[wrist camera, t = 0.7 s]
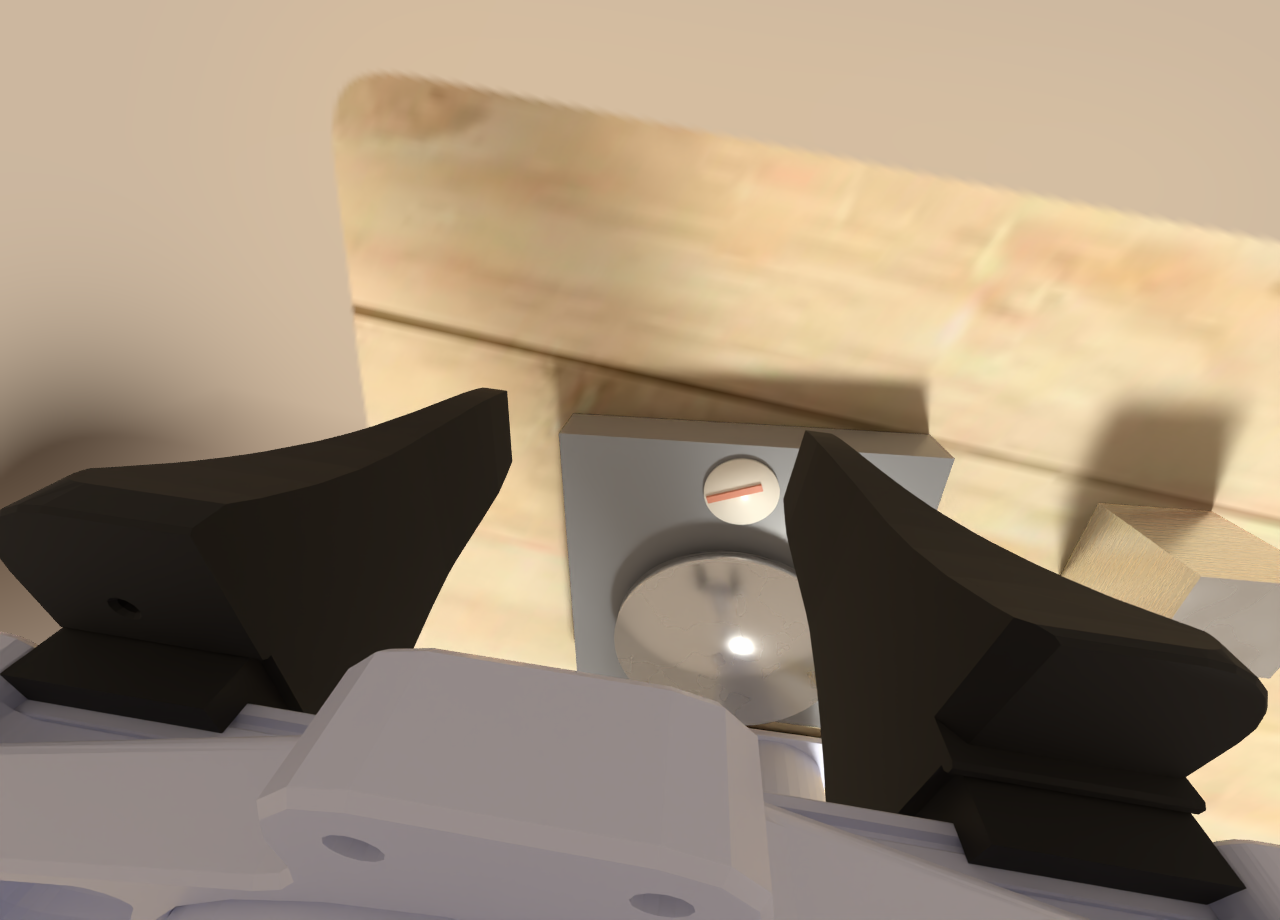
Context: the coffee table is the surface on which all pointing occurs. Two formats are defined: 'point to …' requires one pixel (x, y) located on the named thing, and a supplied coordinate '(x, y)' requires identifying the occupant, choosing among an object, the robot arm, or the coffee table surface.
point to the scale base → (692, 504)
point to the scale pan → (721, 633)
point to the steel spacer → (1187, 574)
